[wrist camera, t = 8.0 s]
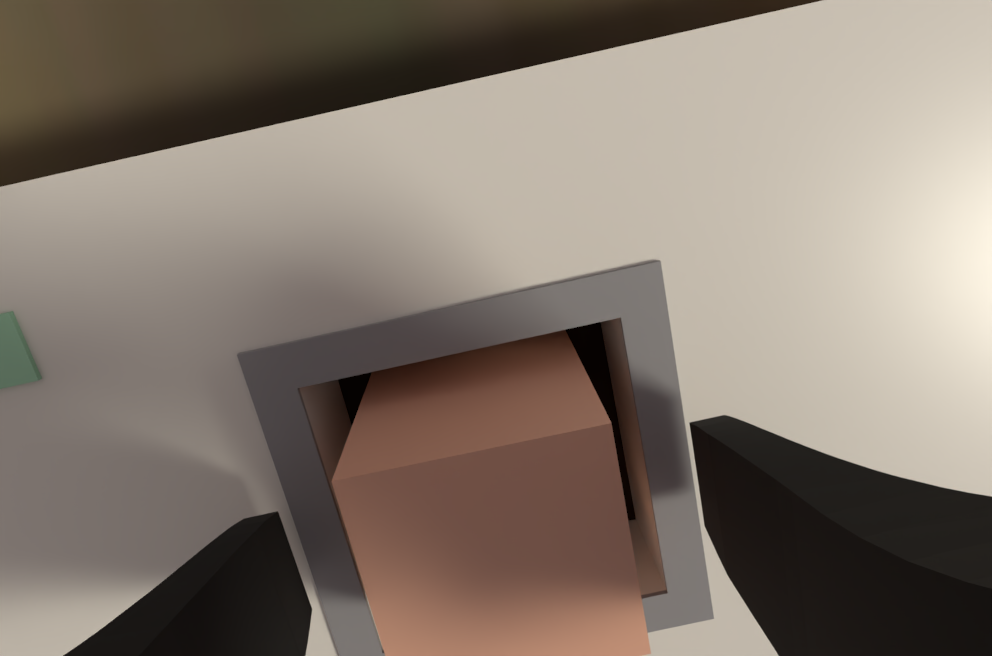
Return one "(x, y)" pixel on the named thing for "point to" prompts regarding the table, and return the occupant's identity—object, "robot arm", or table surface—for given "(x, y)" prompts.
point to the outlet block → (506, 299)
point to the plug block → (491, 507)
